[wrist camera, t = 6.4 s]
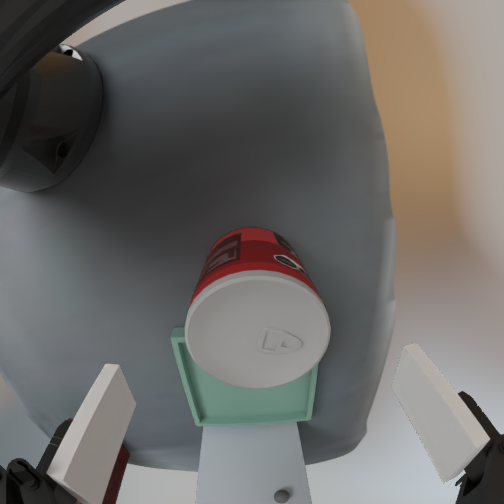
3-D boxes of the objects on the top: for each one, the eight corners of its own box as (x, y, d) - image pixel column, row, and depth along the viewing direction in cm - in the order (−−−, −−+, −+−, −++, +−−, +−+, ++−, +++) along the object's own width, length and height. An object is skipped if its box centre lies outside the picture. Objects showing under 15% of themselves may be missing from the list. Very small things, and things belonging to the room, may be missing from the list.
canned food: (296, 303, 26) (325, 384, 15) (211, 307, 26) (194, 391, 15) (297, 223, 23) (338, 270, 13) (203, 227, 23) (172, 278, 13)
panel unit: (203, 418, 31) (191, 526, 15) (295, 414, 31) (316, 521, 16) (209, 439, 32) (202, 534, 17) (294, 435, 32) (310, 530, 17)
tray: (174, 327, 26) (170, 337, 24) (317, 319, 26) (321, 328, 25) (197, 415, 31) (196, 426, 29) (308, 409, 31) (311, 419, 29)
